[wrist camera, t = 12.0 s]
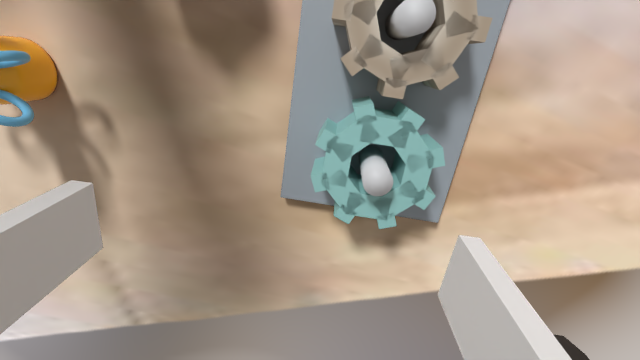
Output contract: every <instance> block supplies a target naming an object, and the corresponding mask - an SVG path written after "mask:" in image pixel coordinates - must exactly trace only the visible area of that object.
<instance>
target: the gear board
mask: <svg viewBox="0 0 640 360" xmlns="http://www.w3.org/2000/svg"><path fill="white" fill-rule="evenodd" d="M509 2H510V0H477V12H478V16H484V17H490V18H492V22H491V25H490V28H489V31H488V34H487V38H486V41H485V42H484V43H475V44H467V46H466V47H465V48H464V50H463V51H462V53H461V54H460V55H459V57H458V58H457V60H456V61H455V62H454V64H453V65H452V66H453V67H454V69H455V71H456V73H457V74H458V76H459V78H458V79H456V80H455V81H453V82H452V83H450V84H449V85H447V86H446V87H444V88H443V89H441V90H437V89H434V88H431V87H428V86H425V85H424V84H423V82H418V83H414V84H410V85H406V89H405V93H404V97H403V99H398V98H392V97H385V96H382V95H381V94H380V93H379V92H378V91H377V90H376V89H377V84H378V79H379V78H378V77H376V76H375V75H373V74H372V73H370V72H369V71H367V70H366V69H364V68H363V69H362V70H360V71H359V72H358V73H356V74H355V75H354V76H352V75H351V74H350V72H349V71H348V69H347V68H346V66H345V65H344V63H343V62H342V60H341V59H340V58H341V57H343V56H344V55H345V54H347V53H348V52H349V51H350V47H349V42H348V37H347V32H346V27H344V26H338V25H333V22H332V12H333V5H334V0H303V2H302V10H301V19H300V28H299V37H298V46H297V55H296V64H295V73H294V82H293V91H292V100H291V109H290V118H289V127H288V136H287V145H286V154H285V163H284V172H283V181H282V189H281V197H283V198H289V199H295V200H301V201H307V202H314V203H320V204H326V205H332V206H334V201H335V200H334V199H333V197H332V196H331V195H330V194H329V192H328V191H327V190H325V191H320V192H315V190H314V187H313V183H312V180H311V172H312V168H313V165H314V161H315V159H316V158H321V157H325V154H326V151H324V150H323V149H321V148H319V147H318V146H316V145H315V143H316V140H317V137H318V134H319V131H320V129H321V128H322V126H323V124H324V123H325V121H326V120H327V118H329V119H330V120H332V121H334V122H335V123H338V122H340V121H341V120H343V119H344V118H345V117H347V116H348V115H349V114H351V113H352V112H354V109H353V104H352V100H354V99H358V98H362V97H367V96H369V97H370V99H371V100H372V102H373V104H374V108H379V109H385V110H391V111H392V109H393V108H394V106H395V105H396V103H397V102H398V101H399V102H401V103H403V104H404V105H406V106H407V107H409V108H410V109H412V110H413V111H415V112H416V113H417V114H419V115H420V116H421V117H423V118H424V119H425V121H424V122H423V123H422V125H421V126H420V128H419V129H418V130H417V131H418V133H419V134H420V135H424V134H428V135H430V136H431V137H432V138H433V139H434V140H435V141H436V142H437V143H439V144H440V145H441V146H442V147H443V151H444V160H445V166H441V167H436V168H432V171H431V174H430V177H429V181H428V185H429V187H430V188H431V190H432V191H433V193H434V194H435V198H434V199H433V200H432V201H431V203H430V204H429V205H428V206H427V207H426V209H425V210H423V209H422V208H420V207H418V206H416V205H415V204H414V205H412V206H411V207H409V208H407V209H405V210H404V211H402V212H400V213H399V214H397V215H395V216H400V217H406V218H412V219H418V220H424V221H431V222H437V223H438V221H439V218H440V215H441V212H442V208H443V205H444V202H445V199H446V196H447V193H448V190H449V187H450V184H451V181H452V178H453V175H454V172H455V168H456V165H457V162H458V159H459V156H460V153H461V150H462V147H463V144H464V141H465V138H466V135H467V132H468V128H469V125H470V122H471V119H472V116H473V113H474V110H475V107H476V104H477V101H478V98H479V95H480V92H481V88H482V85H483V82H484V79H485V76H486V73H487V70H488V67H489V64H490V61H491V58H492V55H493V51H494V48H495V45H496V42H497V39H498V36H499V33H500V30H501V27H502V24H503V21H504V18H505V15H506V11H507V8H508V5H509ZM376 13H377V19H378V25H379V31H380V37H381V41H382V42H384V43H385V44H387V45H388V46H390V47H391V48H393V49H394V50H396V51H397V52H399V53H404V52H408V51H412V50H414V49H415V48H416V46H417V45H418V43H419V42H420V40H421V39H422V37H423V36H424V34H425V33H426V31H427V30H428V29H429V28H430V27H431V25H432V24H433V22H434V20H435V16H436V7H435V4H434V2H433V0H384V1H383V2H382V4H381V6H380V7H379V9H378V11H377V12H376ZM395 153H396V149H395V148H394V147H392V146H386V145H380V144H373V143H370V144H369V145H367V146H366V147H364V148H363V149H361V150H360V151H358V152H357V153H355V154H354V155H352V157H351V162H350V164H351V166H352V167H353V169H354V170H355V171H356V173H357V174H360V175H361V176H362V182H363V187H364V189H365V191H366V192H367V193H368V194H370V195H372V196H383V195H385V194H387V193H388V192H389V191H390V190H391V189H392V186H393V177H392V175H391V172H390V170H389V168H391V167H392V165H393V161H394V157H395Z"/></svg>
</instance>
